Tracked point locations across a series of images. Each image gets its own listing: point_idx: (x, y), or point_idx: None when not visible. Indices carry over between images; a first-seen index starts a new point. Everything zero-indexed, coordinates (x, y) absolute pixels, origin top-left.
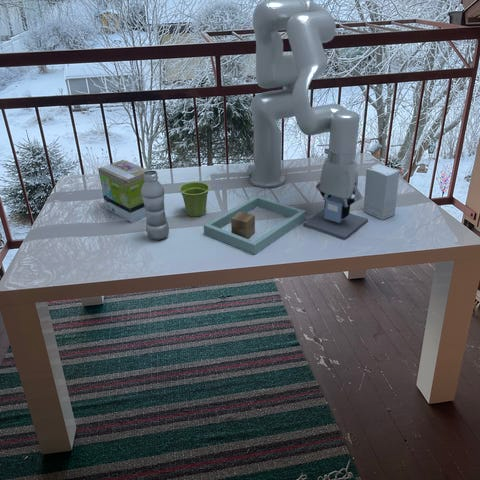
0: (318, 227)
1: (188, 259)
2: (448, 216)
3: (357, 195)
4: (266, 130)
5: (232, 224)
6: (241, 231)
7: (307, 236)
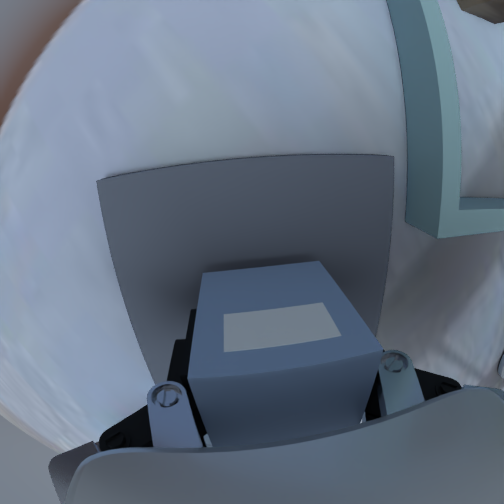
0: (297, 163)
1: None
2: None
3: (66, 492)
4: None
5: None
6: None
7: (297, 64)
